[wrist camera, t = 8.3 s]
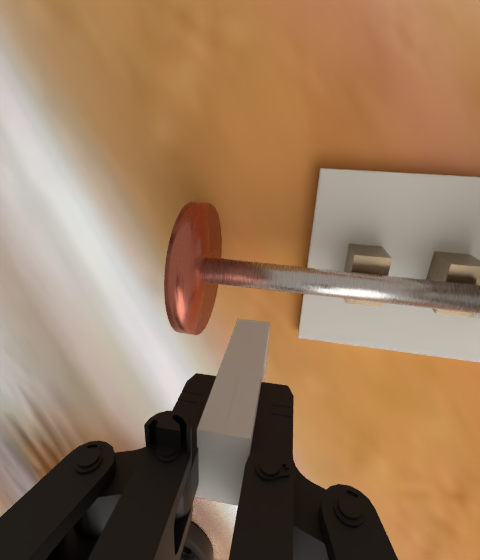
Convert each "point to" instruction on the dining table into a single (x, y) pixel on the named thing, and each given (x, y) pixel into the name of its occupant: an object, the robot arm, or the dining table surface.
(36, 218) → the dining table surface
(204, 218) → the disc-ended rod
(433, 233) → the base board
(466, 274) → the eye bracket
